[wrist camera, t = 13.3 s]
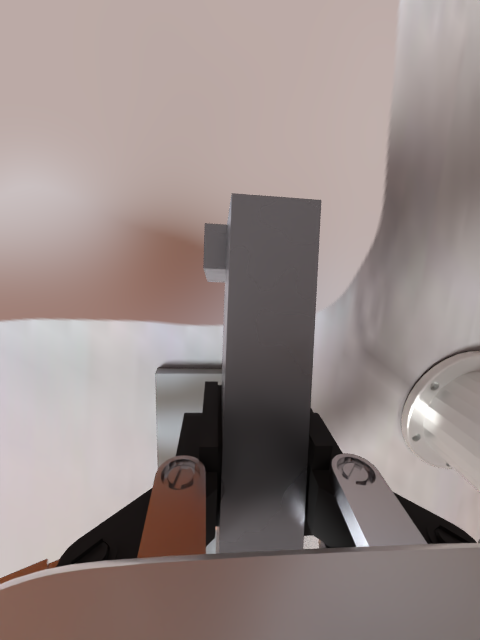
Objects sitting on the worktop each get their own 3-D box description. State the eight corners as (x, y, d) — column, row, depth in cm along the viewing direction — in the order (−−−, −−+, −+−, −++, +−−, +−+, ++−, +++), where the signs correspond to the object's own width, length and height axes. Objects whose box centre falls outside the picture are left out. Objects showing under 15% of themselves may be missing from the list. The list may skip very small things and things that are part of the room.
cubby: (157, 368, 23) (144, 401, 18) (275, 368, 24) (291, 399, 19) (163, 611, 30) (155, 680, 26) (252, 602, 32) (260, 666, 27)
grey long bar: (196, 252, 15) (173, 188, 7) (290, 257, 16) (374, 204, 7) (185, 622, 16) (154, 949, 8) (273, 616, 17) (330, 919, 9)
